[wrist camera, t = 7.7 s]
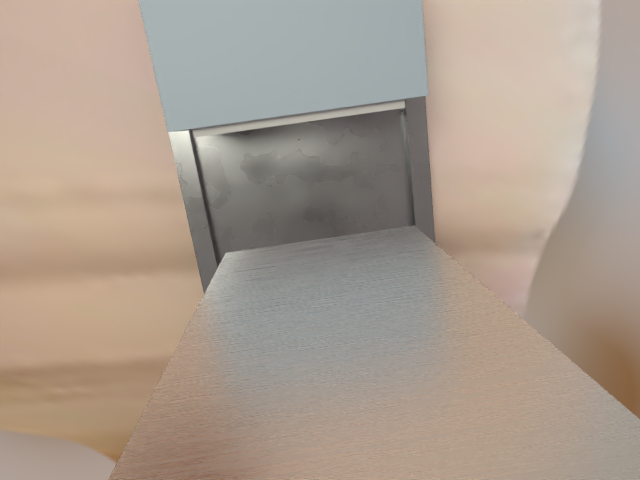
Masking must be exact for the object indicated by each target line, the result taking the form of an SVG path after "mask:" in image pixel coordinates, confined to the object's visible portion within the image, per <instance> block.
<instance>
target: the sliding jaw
mask: <svg viewBox="0 0 640 480" xmlns="http://www.w3.org/2000/svg"><path fill="white" fill-rule="evenodd" d="M139 4H140V9H141V13H142V18H143V22H144V27H145V31H146V36H147V40H148V45H149V49H150V54H151V58H152V63H153V67H154V72H155V76H156V81H157V85H158V90H159V94H160V99H161V103H162V108H163V112H164V117H165V121H166V126H167V130H168V132H176V131H188V130H193V135H194V138H195V137H202V136H209V135H216V134H223V133H230V132H238V131H245V130H252V129H259V128H266V127H273V126H280V125H287V124H294V123H301V122H308V121H315V120H322V119H329V118H336V117H343V116H351V115H358V114H365V113H372V112H379V111H386V110H393V109H400V108H405V102H404V100H407V99H412V98H418V97H423V96H428V83H427V68H426V53H425V38H424V23H423V8H422V0H139Z"/></svg>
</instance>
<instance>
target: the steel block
mask: <svg viewBox="0 0 640 480" xmlns="http://www.w3.org/2000/svg"><path fill="white" fill-rule="evenodd" d="M109 480H640V419H638V418H637V417H636V416H635V415H634V414H633V413H631V412H630V411H629V410H628V409H627V408H625V406H623V405H622V404H621V403H620V402H619V401H618V400H616V399H615V398H614V397H613V396H612V395H610V394H609V393H608V392H607V391H606V390H605V389H604V388H602V387H601V386H600V385H599V384H598V383H597V382H595V381H594V380H593V379H592V378H591V377H590V376H588V375H587V374H586V373H585V372H584V371H583V370H582V369H580V368H579V367H578V366H577V365H576V364H574V363H573V362H572V361H571V360H570V359H569V358H567V357H566V356H565V355H564V354H563V353H562V352H561V351H559V350H558V349H557V348H556V347H555V346H554V345H552V344H551V343H550V342H549V341H548V340H547V339H546V338H544V337H543V336H542V335H541V334H540V333H539V332H537V331H536V330H535V329H534V328H533V327H532V326H530V325H529V324H528V323H527V322H526V321H525V320H524V319H522V318H521V317H520V316H519V315H518V314H517V313H515V312H514V311H513V310H512V309H511V308H510V307H508V306H507V305H506V304H505V303H504V302H503V301H501V300H500V299H499V298H498V297H497V296H496V295H494V294H493V293H492V292H491V291H490V290H489V289H488V288H486V287H485V286H484V285H483V284H482V283H481V282H479V281H478V280H477V279H476V278H475V277H474V276H472V275H471V274H470V273H469V272H468V271H467V270H465V269H464V268H463V267H462V266H461V265H460V264H458V263H457V262H456V261H455V260H454V259H453V258H452V257H450V256H449V255H448V254H447V253H446V252H445V251H443V250H442V249H441V248H440V247H439V246H438V245H436V244H435V243H434V242H433V241H432V240H431V239H429V238H428V237H427V236H426V235H425V234H424V233H423V232H421V231H420V230H419V229H418V228H417V227H416V226H414V225H412V226H405V227H399V228H392V229H385V230H378V231H371V232H365V233H358V234H351V235H344V236H338V237H331V238H324V239H317V240H310V241H304V242H297V243H290V244H283V245H277V246H270V247H263V248H256V249H249V250H243V251H236V252H229V253H225V255H224V257H223V259H222V261H221V263H220V265H219V267H218V269H217V270H216V272H215V274H214V276H213V278H212V280H211V282H210V284H209V286H208V288H207V290H206V292H205V294H204V296H203V298H202V300H201V301H200V303H199V305H198V307H197V309H196V311H195V313H194V315H193V317H192V319H191V321H190V323H189V325H188V327H187V329H186V331H185V332H184V334H183V336H182V338H181V340H180V342H179V344H178V346H177V348H176V350H175V352H174V354H173V356H172V358H171V360H170V361H169V363H168V365H167V367H166V369H165V371H164V373H163V375H162V377H161V379H160V381H159V383H158V385H157V387H156V389H155V391H154V392H153V394H152V396H151V398H150V400H149V402H148V404H147V406H146V408H145V410H144V412H143V414H142V416H141V418H140V420H139V421H138V423H137V425H136V427H135V429H134V431H133V433H132V435H131V437H130V439H129V441H128V443H127V445H126V447H125V449H124V451H123V452H122V454H121V456H120V458H119V460H118V462H117V464H116V466H115V468H114V470H113V472H112V474H111V476H110V478H109Z"/></svg>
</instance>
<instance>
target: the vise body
mask: <svg viewBox="0 0 640 480" xmlns="http://www.w3.org/2000/svg"><path fill="white" fill-rule="evenodd" d="M404 102H405V108H400V109H393V110H386V111H379V112H372V113H365V114H358V115H351V116H343V117H336V118H329V119H322V120H315V121H308V122H301V123H294V124H287V125H280V126H273V127H266V128H259V129H252V130H245V131H238V132H230V133H223V134H216V135H209V136H202V137H195V138H194V135H193V130H188V131H176V132H168V133H169V137H170V142H171V146H172V151H173V155H174V160H175V164H176V169H177V173H178V178H179V182H180V187H181V191H182V196H183V200H184V205H185V209H186V214H187V218H188V223H189V227H190V232H191V236H192V241H193V245H194V250H195V255H196V259H197V264H198V268H199V273H200V277H201V282H202V286H203V291H204V294H205V292H206V290H207V288H208V286H209V284H210V282H211V280H212V278H213V276H214V274H215V272H216V270H217V269H218V267H219V265H220V263H221V261H222V259H223V257H224V255H225V253H229V252H236V251H243V250H249V249H256V248H263V247H270V246H277V245H283V244H290V243H297V242H304V241H310V240H317V239H324V238H331V237H338V236H344V235H351V234H358V233H365V232H371V231H378V230H385V229H392V228H399V227H405V226H412V225H414V226H416V227H417V228H418V229H419V230H420V231H421V232H423V233H424V234H425V235H426V236H427V237H428V238H429V239H431V240H432V241H433V242H434V243H435V235H434V221H433V206H432V192H431V177H430V163H429V148H428V134H427V120H426V105H425V96H423V97H418V98H412V99H407V100H404Z"/></svg>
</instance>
